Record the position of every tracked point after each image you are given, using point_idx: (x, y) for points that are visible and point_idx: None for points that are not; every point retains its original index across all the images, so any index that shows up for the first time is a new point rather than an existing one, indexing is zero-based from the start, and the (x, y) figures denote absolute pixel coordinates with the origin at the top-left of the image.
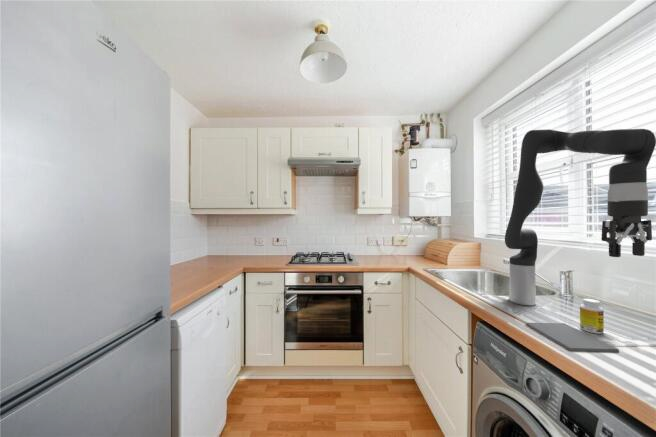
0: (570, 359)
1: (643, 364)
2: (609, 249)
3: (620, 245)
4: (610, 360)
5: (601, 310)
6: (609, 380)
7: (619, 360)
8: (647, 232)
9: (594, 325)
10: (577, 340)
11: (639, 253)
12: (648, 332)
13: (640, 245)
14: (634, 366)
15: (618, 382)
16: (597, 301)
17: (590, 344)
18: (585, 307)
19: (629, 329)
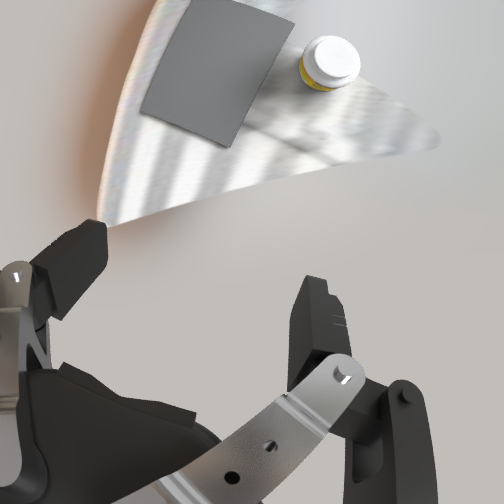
0: (111, 133)
1: (209, 187)
2: (51, 247)
3: (64, 313)
4: (170, 158)
5: (325, 86)
6: (103, 190)
7: (186, 164)
8: (346, 483)
9: (304, 79)
10: (194, 92)
11: (296, 313)
12: (429, 147)
13: (290, 367)
14: (184, 184)
15: (109, 197)
16: (340, 71)
17: (197, 113)
18: (305, 53)
19: (417, 119)
